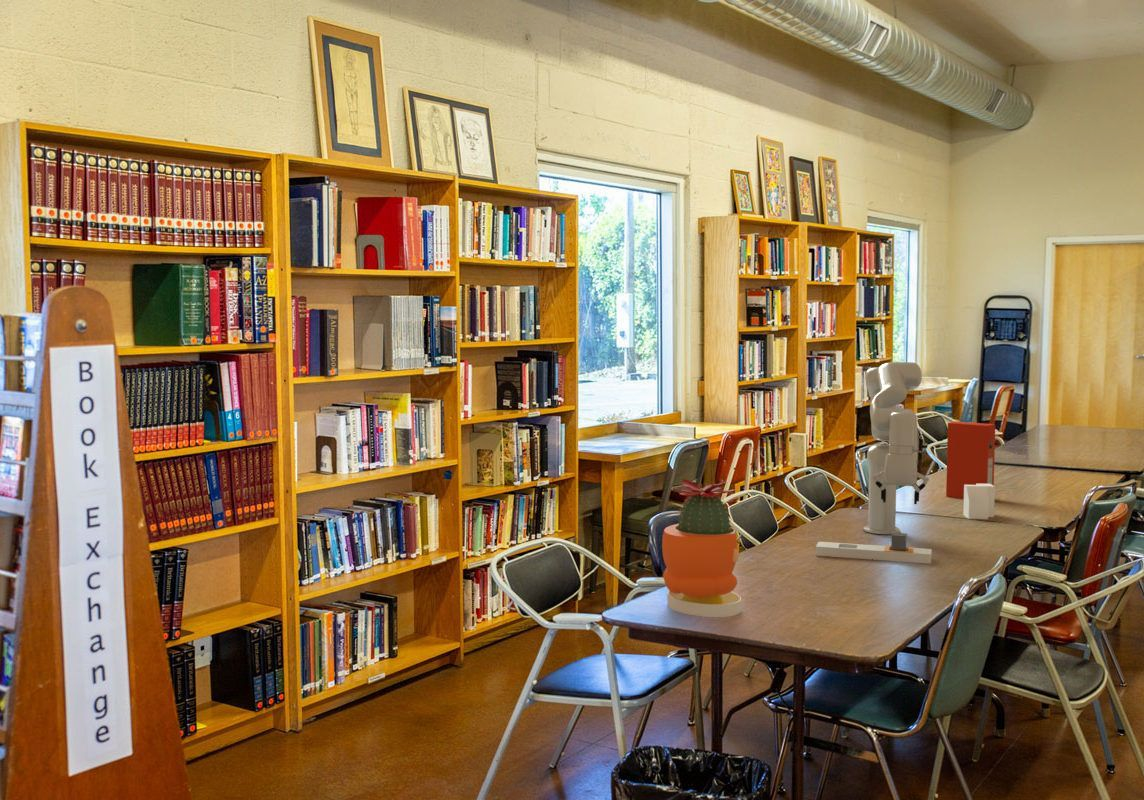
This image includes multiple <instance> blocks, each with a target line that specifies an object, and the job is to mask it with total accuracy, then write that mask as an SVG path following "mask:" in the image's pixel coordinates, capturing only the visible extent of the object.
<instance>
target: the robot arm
mask: <svg viewBox="0 0 1144 800" xmlns="http://www.w3.org/2000/svg"><path fill="white" fill-rule="evenodd" d="M865 372H866V373H865V386H866V389H867V393H868V395H869V398H870V406H869V414H870V422H871V425H870V426H871V427H870V428H871V435H872V438H873V439H874V440H876V441H881V442H888V443H889V444H874V445H872V446H870V447H869V448H868V450H867V452H866V461H867V468H868V511H867V513H868V515H867V516H868V517H867V519H868V521H867V525H865V526H863V531H864V532H866V533H869V534H875V535H892V533H901V532H900V531H901V529H900V528H899V527H897V526H896V514H897V512H896V510H897V509H896V508H897V486H904V487H905V486H906V487H912V488H913V489H914V490H915V491H914V495H913V496H914V497H913V498H914V499H913V500H914V501H913V504H914V505H917V503H918V502H919V501H920V492H921V491H922V490H923V489H924V488H925V487H926V486H927V484H928V482H929V481H930V478H929V477H927V476H926V475H924V474H921V473H919V472H918V455H919V453H918V452H919V446H918V445H919V444H918V441H919V440H918V435H919V433H918V432H919V430H918V423H917V422H918V421H917V414H916V413H915V412H914V410H913V409H910V408H897V405H899V404H901V403H903V402H904V401H905V399H906V397H907V395H908V392H911V391H914V390H915V389H917V388H919V386H920V385H921V383H922V379H923V378H922V377H923V375H922V374H923V372H922V370H921V367H920V365H919V364H918V363H916V362H907V361H905V362H904V361H903V362H901V361H897V362H895V361H890V362H885V363H883V364H881V365H880V366H877V367H871V368H868V369H867V370H866V371H865ZM918 478H919V479H920V480H922V483H921V484H920V485H918V483H917V482H918Z"/></svg>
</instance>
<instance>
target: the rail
mask: <svg viewBox="0 0 1144 800" xmlns="http://www.w3.org/2000/svg"><path fill="white" fill-rule="evenodd" d="M932 550H933V548H923V547H919V548H918V547H913V546H906V551H894V550H891V545H877V544H876V545H875V544H862V543H861V544H859V543H845V542H831V541H830V542H829V541H817V544H816V546H815V556H818V557H829V558H830V557H833V558H843V559H844V558H845V559H859V560H872V559H873V560H875V561H876V560H877V561H888V562H901V563H917V564H918V563H919V564H928V565H929V564H930V565H931V564H932V558H933V556H932V555H933V554H932V552H933V551H932Z"/></svg>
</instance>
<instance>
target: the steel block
mask: <svg viewBox="0 0 1144 800" xmlns="http://www.w3.org/2000/svg"><path fill="white" fill-rule="evenodd" d="M907 535H908V533H905V532H904V533H903V532H899V533H892V534H891V543H890V544H891V545H890V546H891V550H894V551H906V547H907V544H908V543H907V541H908V540H907V539H908V538H907Z"/></svg>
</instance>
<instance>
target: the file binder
mask: <svg viewBox="0 0 1144 800" xmlns="http://www.w3.org/2000/svg"><path fill="white" fill-rule="evenodd" d="M946 438H947V439H946V440H947V442H946V443H947V444H946V485H945V487H946V488H945V489H946V490H945V491H946V492H945V493H946V494H945V497H946V498H953V499H961V500H964V485H976V483H977V484H992V485H993V486H995V453H996V452H995V450H996V447H995V446H996V424H995V423H984V422H983V423H982V422H981V423H980V422H969V421H968V422H967V421H951V422H948V423H947V437H946Z"/></svg>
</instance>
